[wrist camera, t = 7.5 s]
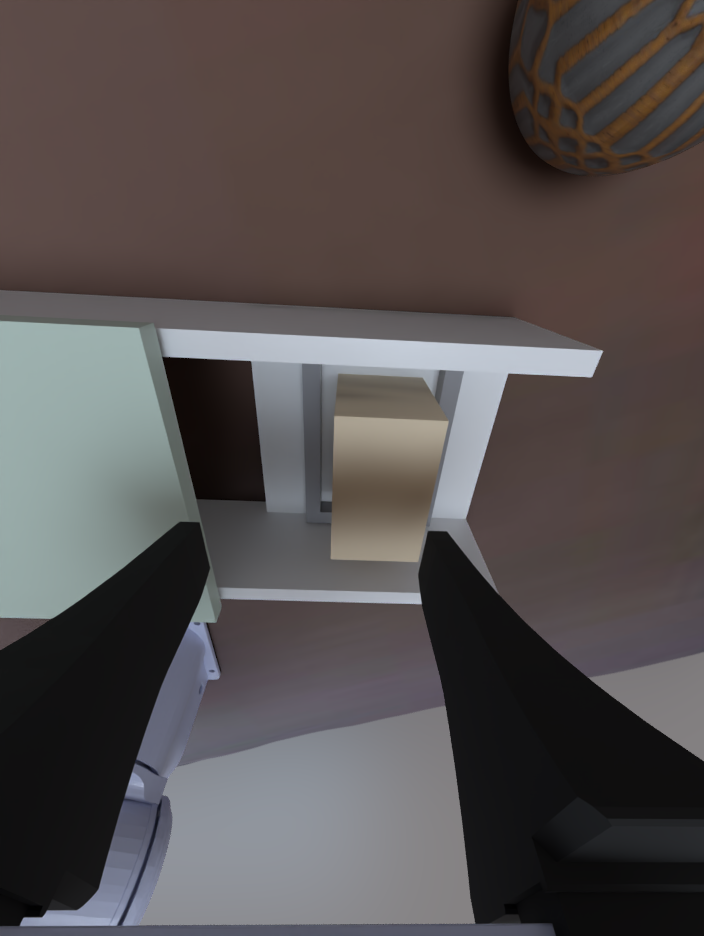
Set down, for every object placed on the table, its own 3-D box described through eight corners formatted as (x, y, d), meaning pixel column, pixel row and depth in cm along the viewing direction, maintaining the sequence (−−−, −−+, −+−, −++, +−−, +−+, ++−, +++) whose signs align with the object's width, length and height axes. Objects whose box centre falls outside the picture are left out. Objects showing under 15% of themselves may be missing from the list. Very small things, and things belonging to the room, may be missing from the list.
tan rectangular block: (403, 496, 20) (418, 562, 16) (334, 493, 20) (330, 559, 15) (422, 377, 16) (448, 420, 12) (338, 373, 16) (334, 416, 12)
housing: (458, 518, 22) (494, 605, 17) (52, 504, 21) (-51, 591, 16) (514, 317, 16) (602, 350, 10) (-61, 286, 15) (-301, 304, 9)
